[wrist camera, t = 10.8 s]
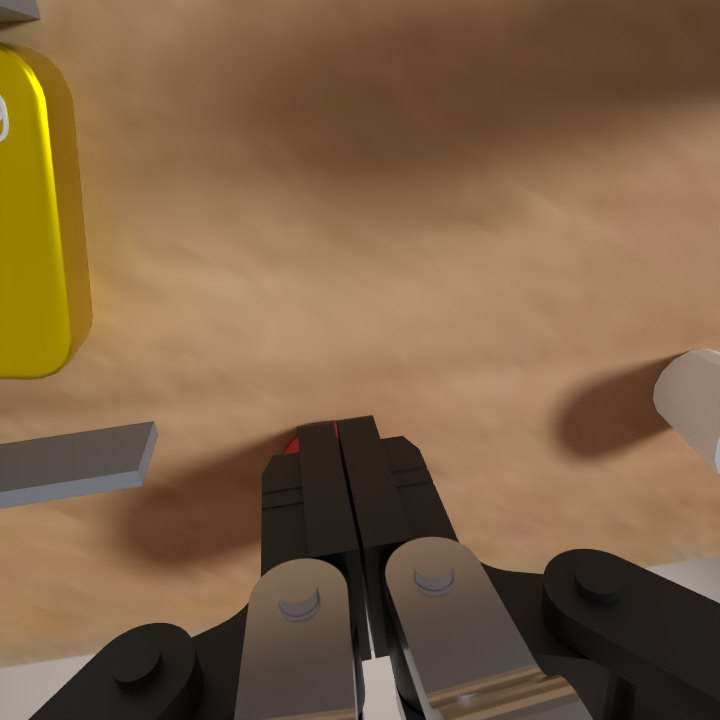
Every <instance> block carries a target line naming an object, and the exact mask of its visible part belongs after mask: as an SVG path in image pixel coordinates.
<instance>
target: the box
mask: <svg viewBox="0 0 720 720" xmlns="http://www.w3.org/2000/svg"><path fill="white" fill-rule="evenodd" d="M35 19H40V16H39V12H38V9H37V5H36V1H35V0H0V22H10V21H23V20H35ZM157 437H158V435H157V431H156V427H155V424H154V422H148V423H142V424H135V425H128V426H122V427H115V428H108V429H102V430H95V431H88V432H82V433H75V434H68V435H62V436H55V437H48V438H42V439H35V440H28V441H22V442H15V443H8V444H2V445H0V509H2V508H8V507H14V506H21V505H27V504H33V503H39V502H46V501H52V500H58V499H64V498H70V497H77V496H83V495H89V494H95V493H102V492H108V491H114V490H120V489H126V488H133V487H139V486H143V483H144V479H145V476H146V473H147V470H148V466H149V463H150V460H151V456H152V453H153V450H154V447H155V443H156V440H157Z"/></svg>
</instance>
